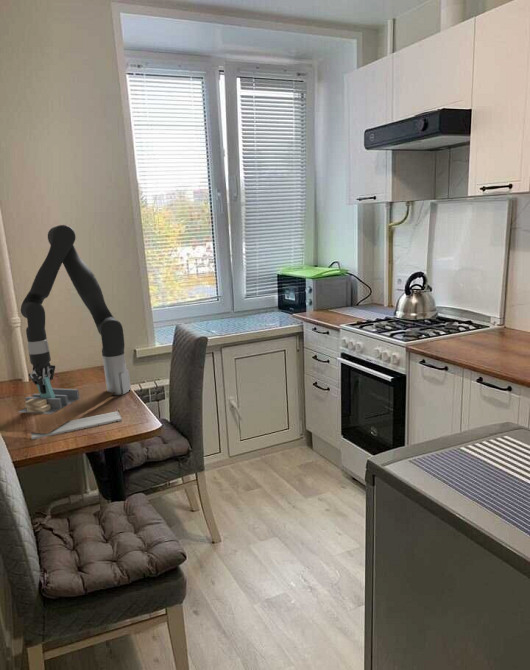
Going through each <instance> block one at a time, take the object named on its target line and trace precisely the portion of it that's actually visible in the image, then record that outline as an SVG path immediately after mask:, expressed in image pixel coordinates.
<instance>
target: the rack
mask: <svg viewBox="0 0 530 670" xmlns="http://www.w3.org/2000/svg"><path fill="white" fill-rule="evenodd" d="M52 389H53V392H54V395H55V398H41V396H40V393H32V396H26V397H25V402H26V401H28V400H30V399H46V401H47V404H50V406H51V409H50V410H48V411H46V412H44V413H41V412H27V407H25V408H22V409H21V410H18V413H20V414H21V413H24V414H25V413H26V414H40V415H41V414H42V415H44V414H45V415H52V414H54V413H56V412H58V411H60V410H61V409H63V408H65V407H67V406H69V405H70V404H72V403H74V402H76V401H78V400H80V398H81V397H80V391H79V389H77V388H76V389H75V388H55V387H54V388H53V387H52Z"/></svg>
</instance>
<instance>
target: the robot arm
mask: <svg viewBox="0 0 530 670" xmlns="http://www.w3.org/2000/svg"><path fill="white" fill-rule="evenodd" d="M76 236H77V235H76V232H75V230H74V229H73V228H72V227H71V226H69V225H66V224H60V225H57V226H53V227H52V228H50V229H49V231H48V232H47V241H48V243H49V245H50V247H49V250H48V252H47V255H46V256H45V259H44V261H43V262H42V264H41V266H40V268H39V269H38V270H37V273H36V275H35V278H34V279H33V281H32V284H31V287H30V289H29V291H28V292H27V295H26V296H25V297H24V299H23V301H22V303H21V305H20V313H21V316H22V317H24V318H25V319H26V320H27V327H26V329H25V334H26V339H27V350H28V355H29V356H28V357H29V362H30V364H31V365H32V372H31V373H28V377H29V379H30V380H31V381H32V384H34V385H36V386H37V385H39V387H40V392H41V393H42V394H45V393H46V388H45V380H44V379H45V377H48V378H49V381H50V382H51V381H52V380H53V379H54V375H55V372H56V371H55V370H56V365H52V364H51V363H50V362H51V361H52V359H51V353H50V347H49V343H48V338H47V331H46V311H45V307H44V306H43V305H42V304H43V302H44V300H45V299H47V298H48V297H49V296H50V295H51V294H50V293H51V292H52V288H53V287H54V284H55V281H56V278H57V276H58V273H59V271H60V269H61V267H62V265H63V266H64V269H65V271H66V273H67V275H68V277H69V279H70V281H71V282H72V285H73V287H74V288H75V290H76V292H77V294H78V295H79V297H80V299H81V300H82V303H83V304H84V305H85V307H86V308H87V309H88V311H89V313H90V315H91V317H92V319H93V321H94V324H95V327H96V328H97V332H98V334H99V335H100V336H101V344H102V348H101V354H102V355H101V356H102V363H103V369H104V379H105V385H106V391H107V392H108V393H113V394H112V396H120V395H125V394H126V393H128V392H130V391H131V390H132V388H131V387H132V386H131V381H130V372H129V369H127V363H126V356H125V355H126V354H125V337H124V329H123V325H122V323H121V322H120V321H119V320H117V319H116V318H115V317H114V316H113V314H112V313H111V311H110V309H109V308H108V306H107V304H106V301H105V297H104V294H103V292H102V288H101V286H100V284H99V282H98V280H97V278H96V277H95V274H94V273H93V271H92V270H91V269H90V267H89V266H88V264H86V262H85V261H83V259H82V258H81V257H80V256H79V253H78V252H77V249H76V247H75V245H74V244H75V241H76V238H77V237H76ZM40 379H41V380H42V382H41V381H40ZM129 390H130V391H129Z"/></svg>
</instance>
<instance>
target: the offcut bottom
mask: <svg viewBox="0 0 530 670" xmlns="http://www.w3.org/2000/svg"><path fill="white" fill-rule="evenodd" d="M26 408H27V412H41V413H44V412H46V411H48V410H50V409H51V406H50V404H46V405H44V406H42V407H41V408H37V407H26Z"/></svg>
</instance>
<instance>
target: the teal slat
mask: <svg viewBox="0 0 530 670" xmlns="http://www.w3.org/2000/svg"><path fill="white" fill-rule="evenodd" d="M44 380H45V388H46V393H45V394H42V393H41V392H40V387H39V385H36V387H37V390H38V394H40V396H41V398H55V395H54V392H53V389H52V388H53V386H52V385H51V380H50V381H49V378H48V377H45V379H44ZM40 381H41V382H42V380H41V379H40Z"/></svg>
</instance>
